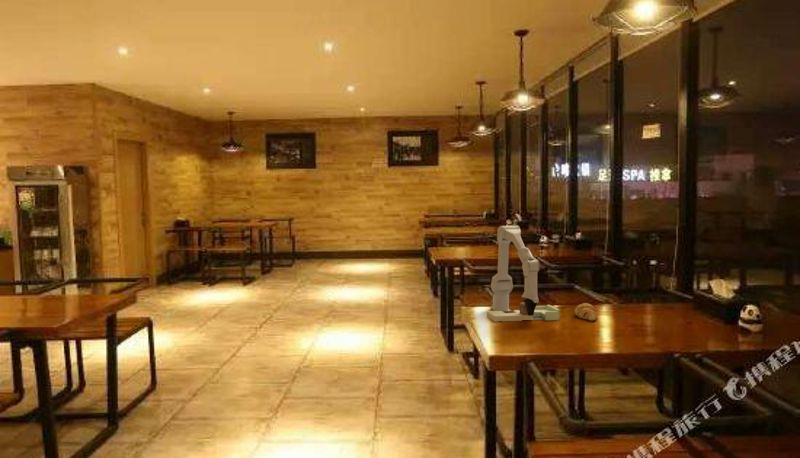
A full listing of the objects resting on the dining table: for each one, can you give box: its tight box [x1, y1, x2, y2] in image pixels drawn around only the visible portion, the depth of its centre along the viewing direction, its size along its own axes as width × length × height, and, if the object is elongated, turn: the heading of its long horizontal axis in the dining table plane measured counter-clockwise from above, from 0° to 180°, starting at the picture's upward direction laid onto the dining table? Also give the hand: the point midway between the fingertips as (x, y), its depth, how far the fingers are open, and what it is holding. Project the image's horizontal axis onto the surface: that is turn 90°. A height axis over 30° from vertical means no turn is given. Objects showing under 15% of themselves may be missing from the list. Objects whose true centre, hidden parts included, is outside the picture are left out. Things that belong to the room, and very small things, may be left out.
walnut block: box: [519, 301, 534, 315], centre depth 276 cm, size 5×5×5 cm
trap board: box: [486, 304, 560, 323], centre depth 279 cm, size 14×31×5 cm, turn 98°
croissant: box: [574, 302, 598, 321], centre depth 281 cm, size 21×10×8 cm, turn 1°
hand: (530, 315), depth 270 cm, fingers closed
